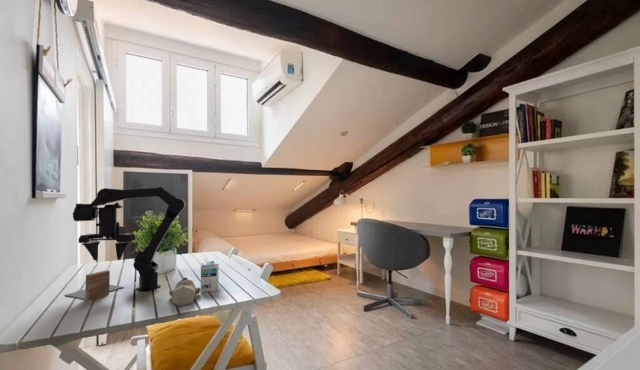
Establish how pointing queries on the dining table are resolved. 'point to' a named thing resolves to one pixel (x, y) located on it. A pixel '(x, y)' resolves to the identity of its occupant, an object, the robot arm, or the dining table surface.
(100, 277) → the walnut tile
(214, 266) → the light bulb box
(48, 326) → the dining table surface
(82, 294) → the mat
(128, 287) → the dining table surface
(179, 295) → the ceramic sculpture
